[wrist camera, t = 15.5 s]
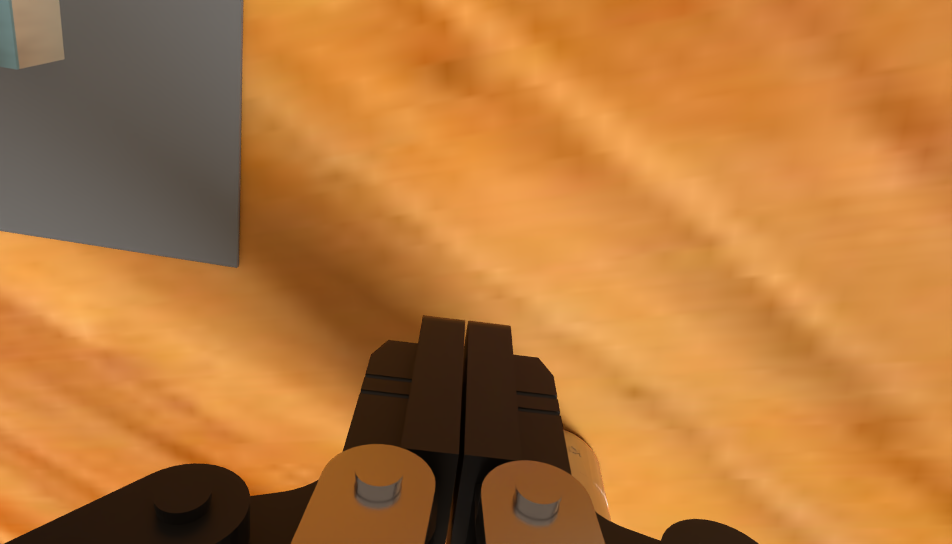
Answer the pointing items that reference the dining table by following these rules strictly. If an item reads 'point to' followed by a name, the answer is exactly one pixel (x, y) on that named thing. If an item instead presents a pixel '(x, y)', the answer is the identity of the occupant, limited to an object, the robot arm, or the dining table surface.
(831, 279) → the dining table surface
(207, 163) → the mat
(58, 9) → the block
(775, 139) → the dining table surface
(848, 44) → the dining table surface
